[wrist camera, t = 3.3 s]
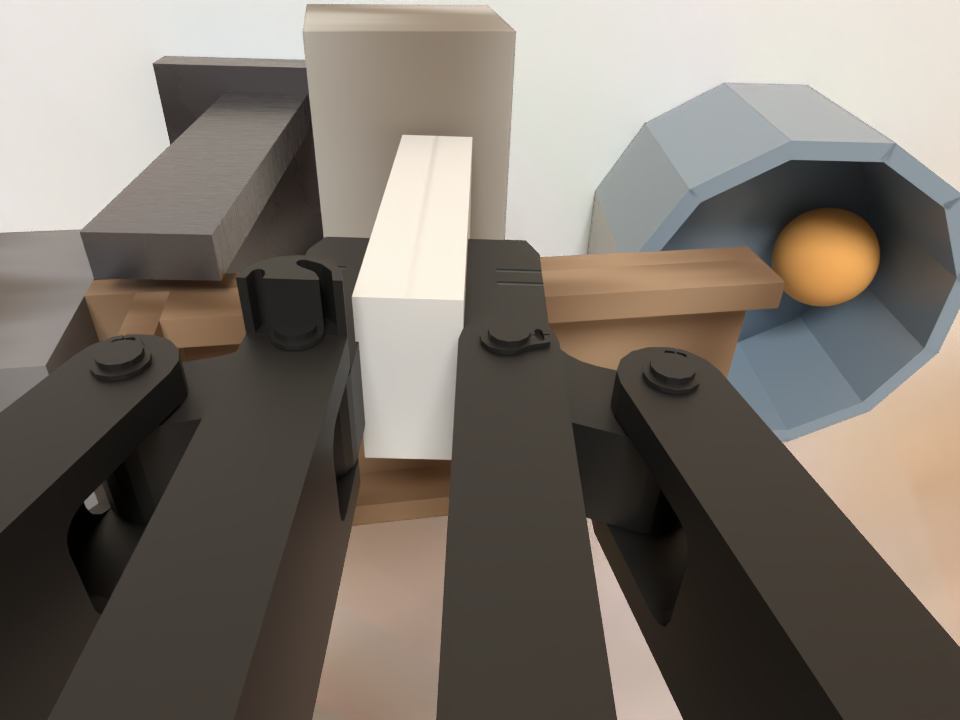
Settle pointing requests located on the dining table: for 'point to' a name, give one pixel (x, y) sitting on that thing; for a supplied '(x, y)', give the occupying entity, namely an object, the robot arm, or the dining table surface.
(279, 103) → the lever stand
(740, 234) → the cup
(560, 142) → the dining table surface
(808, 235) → the ball
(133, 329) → the lever
